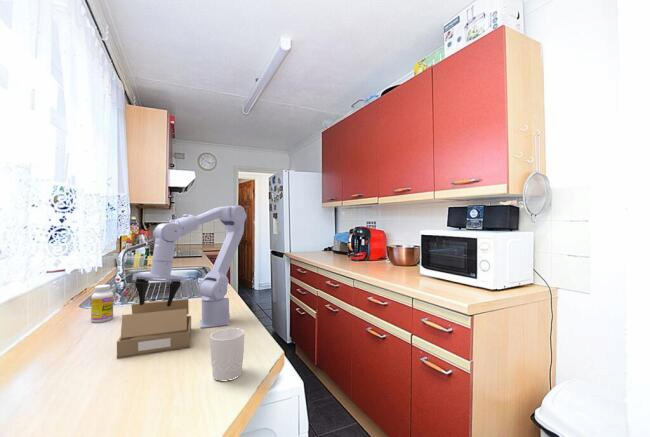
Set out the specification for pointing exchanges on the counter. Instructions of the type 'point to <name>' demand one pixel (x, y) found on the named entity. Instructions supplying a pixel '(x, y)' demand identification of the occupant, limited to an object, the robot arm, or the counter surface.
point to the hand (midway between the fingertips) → (155, 305)
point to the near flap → (153, 322)
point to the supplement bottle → (102, 304)
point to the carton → (154, 342)
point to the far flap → (160, 306)
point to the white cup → (227, 353)
